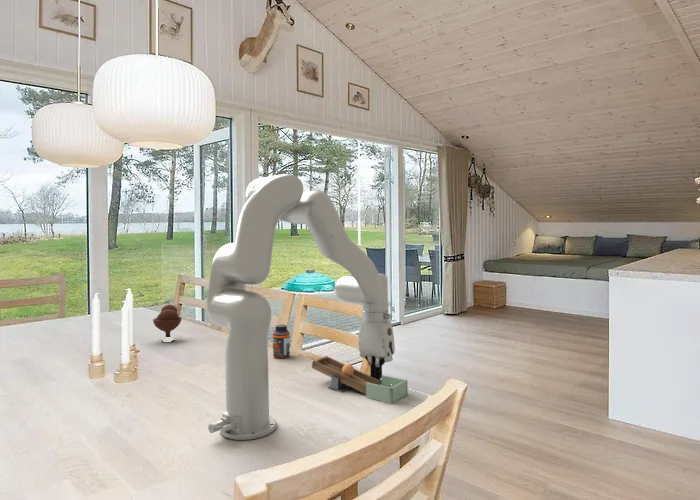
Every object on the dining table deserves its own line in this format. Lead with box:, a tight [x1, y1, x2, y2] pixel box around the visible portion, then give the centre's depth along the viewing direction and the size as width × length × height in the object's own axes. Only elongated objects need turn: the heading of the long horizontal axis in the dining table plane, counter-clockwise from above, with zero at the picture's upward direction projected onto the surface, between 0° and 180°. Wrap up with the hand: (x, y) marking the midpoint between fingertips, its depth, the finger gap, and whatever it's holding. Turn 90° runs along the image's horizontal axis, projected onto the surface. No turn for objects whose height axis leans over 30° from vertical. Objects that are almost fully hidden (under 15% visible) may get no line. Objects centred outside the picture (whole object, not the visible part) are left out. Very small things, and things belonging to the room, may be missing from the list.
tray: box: [365, 374, 408, 404], centre depth 128 cm, size 8×8×4 cm
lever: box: [311, 355, 382, 395], centre depth 138 cm, size 10×20×2 cm, turn 53°
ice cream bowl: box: [152, 304, 182, 337], centre depth 194 cm, size 11×11×15 cm
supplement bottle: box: [272, 323, 291, 359], centre depth 169 cm, size 6×6×11 cm
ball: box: [342, 364, 355, 377], centre depth 135 cm, size 4×4×4 cm
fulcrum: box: [327, 376, 352, 393], centre depth 136 cm, size 9×5×4 cm, turn 143°
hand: (376, 379), depth 136 cm, fingers closed
